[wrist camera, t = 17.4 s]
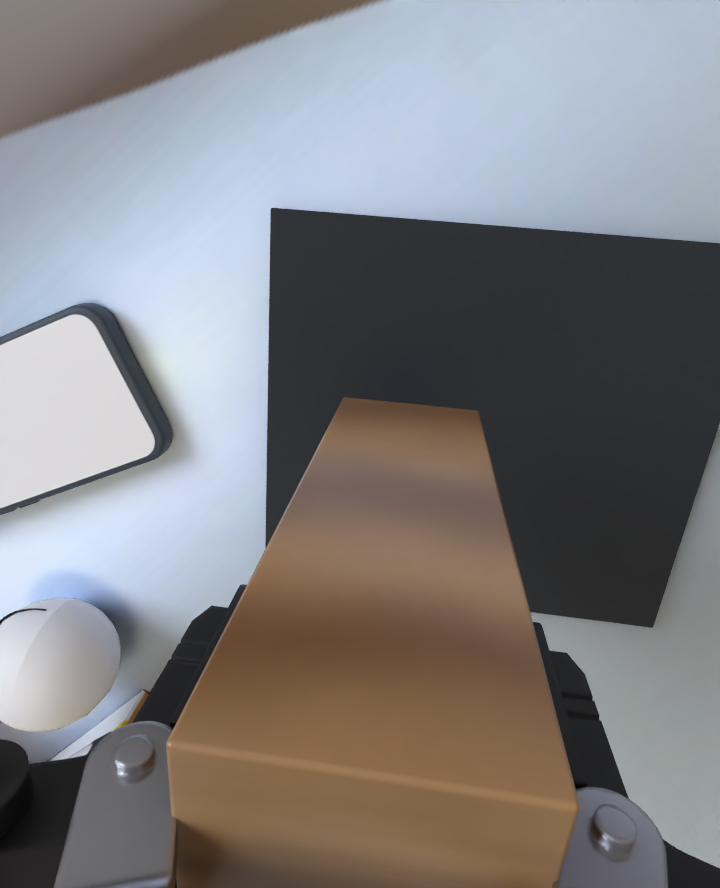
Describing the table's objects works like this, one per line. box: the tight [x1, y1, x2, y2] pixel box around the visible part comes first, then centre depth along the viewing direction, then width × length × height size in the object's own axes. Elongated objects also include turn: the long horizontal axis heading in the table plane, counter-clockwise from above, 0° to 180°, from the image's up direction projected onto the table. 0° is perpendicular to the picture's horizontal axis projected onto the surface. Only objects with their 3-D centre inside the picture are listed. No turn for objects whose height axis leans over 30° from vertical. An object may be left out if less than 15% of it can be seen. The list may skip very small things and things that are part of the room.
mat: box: [266, 208, 720, 627], centre depth 29 cm, size 22×20×1 cm
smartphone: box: [0, 303, 172, 515], centre depth 31 cm, size 9×2×16 cm
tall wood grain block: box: [166, 397, 580, 888], centre depth 14 cm, size 14×5×8 cm
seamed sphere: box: [0, 597, 120, 732], centre depth 33 cm, size 10×7×7 cm
